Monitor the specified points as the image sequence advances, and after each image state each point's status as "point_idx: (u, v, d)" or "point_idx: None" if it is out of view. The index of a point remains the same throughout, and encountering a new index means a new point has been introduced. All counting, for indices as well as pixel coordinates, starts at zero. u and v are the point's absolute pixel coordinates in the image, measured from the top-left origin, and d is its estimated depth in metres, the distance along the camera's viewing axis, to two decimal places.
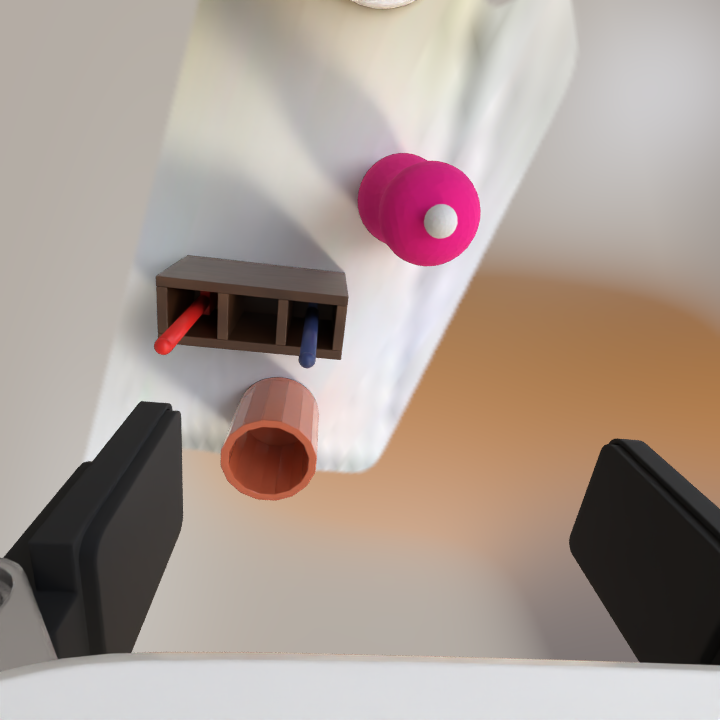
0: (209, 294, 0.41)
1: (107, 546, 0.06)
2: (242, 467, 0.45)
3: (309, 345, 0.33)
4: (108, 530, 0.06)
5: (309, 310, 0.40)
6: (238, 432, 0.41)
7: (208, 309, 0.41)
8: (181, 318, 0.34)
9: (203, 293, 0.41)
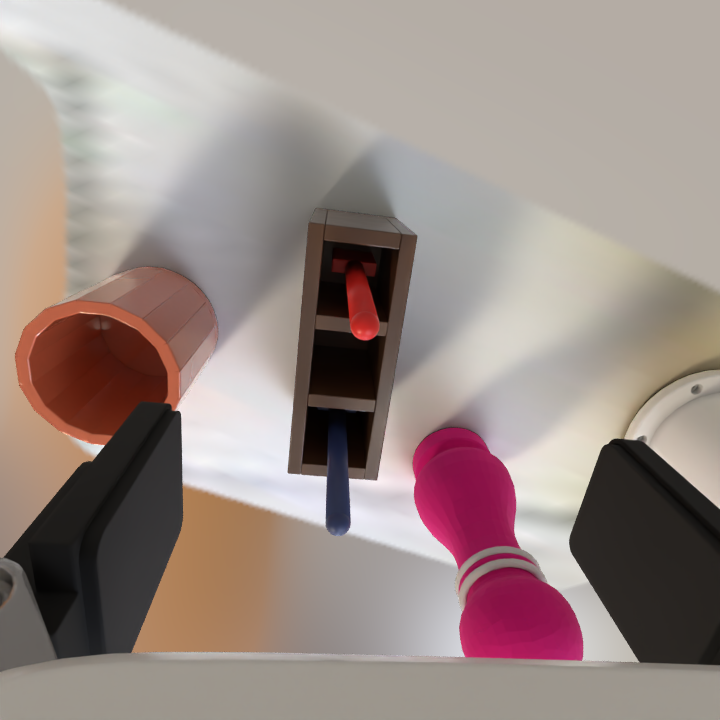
0: None
1: (107, 546, 0.06)
2: None
3: (349, 505, 0.23)
4: (108, 530, 0.06)
5: (345, 414, 0.30)
6: (151, 334, 0.25)
7: (340, 271, 0.28)
8: None
9: (364, 266, 0.28)
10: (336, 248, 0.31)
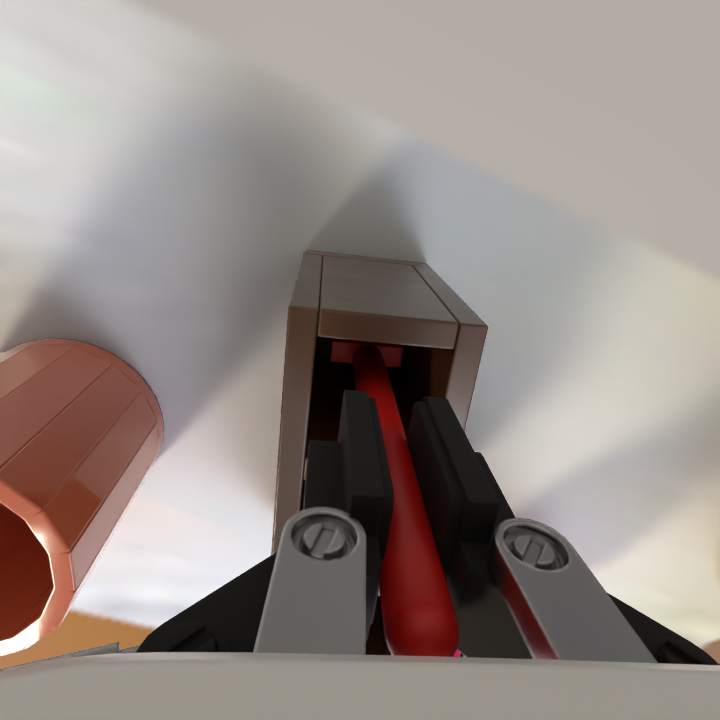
0: None
1: None
2: None
3: None
4: None
5: None
6: (12, 499, 0.14)
7: (344, 360, 0.17)
8: None
9: (383, 353, 0.17)
10: None
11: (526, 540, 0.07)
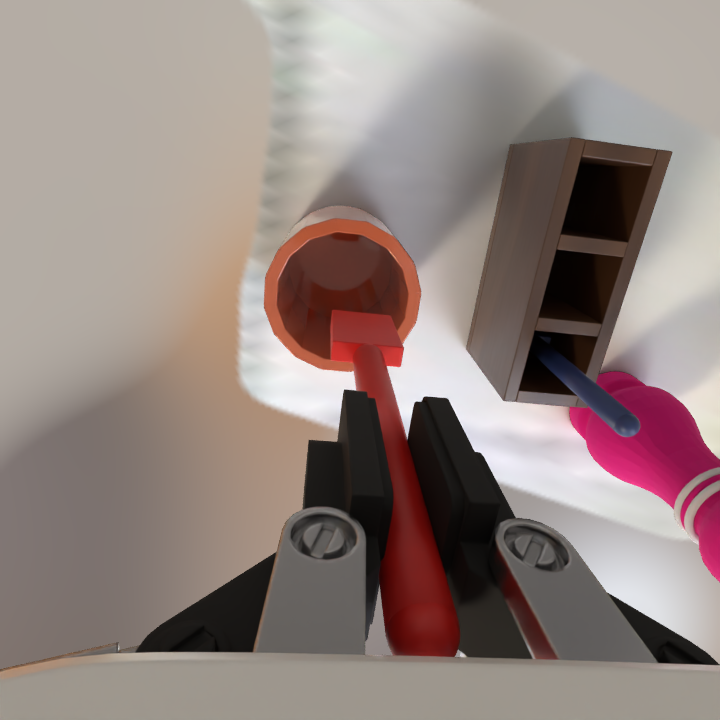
0: None
1: None
2: None
3: None
4: None
5: None
6: (401, 254, 0.25)
7: (344, 360, 0.17)
8: None
9: (383, 352, 0.17)
10: (337, 310, 0.21)
11: (526, 540, 0.07)
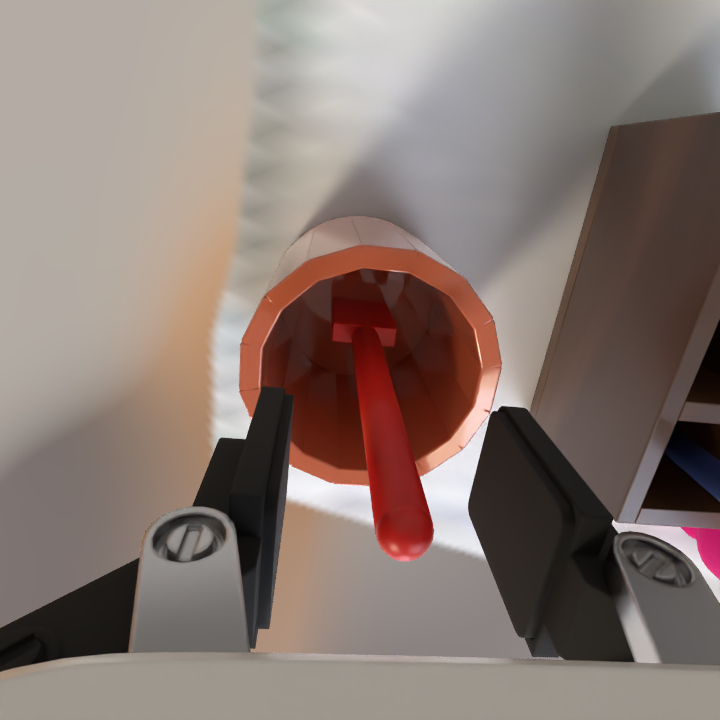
0: None
1: (279, 501, 0.08)
2: None
3: None
4: None
5: None
6: (473, 306, 0.15)
7: (344, 340, 0.19)
8: None
9: (379, 333, 0.19)
10: (337, 298, 0.23)
11: (647, 554, 0.07)
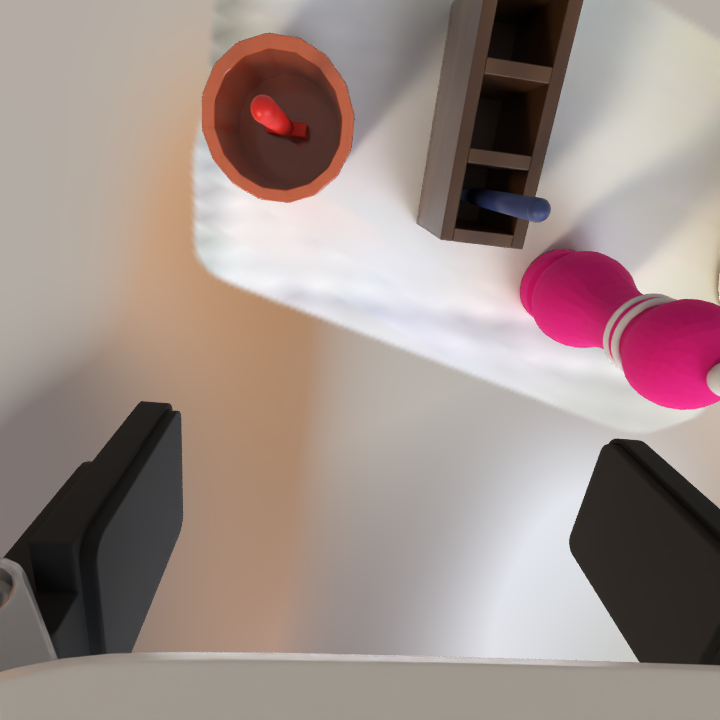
0: (293, 135, 0.31)
1: (107, 546, 0.06)
2: (243, 70, 0.28)
3: None
4: (108, 530, 0.06)
5: None
6: (333, 74, 0.26)
7: (273, 131, 0.31)
8: (285, 119, 0.24)
9: (294, 126, 0.31)
10: None
11: None
